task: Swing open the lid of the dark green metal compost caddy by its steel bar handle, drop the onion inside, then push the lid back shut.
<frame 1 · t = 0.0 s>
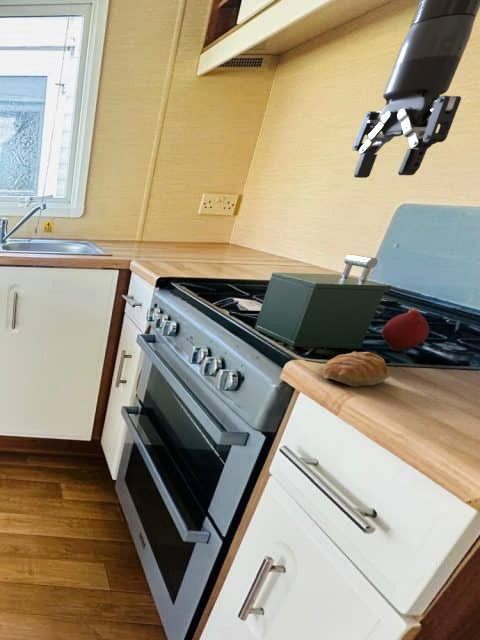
hand: (382, 176, 72), 29 cm above the countertop, tool pointing down, fingers open, 8 cm apart
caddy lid: (331, 269, 78), point 13 cm above the countertop, hinge at 0.0°
onion: (395, 351, 78), on the countertop
pastry: (351, 380, 64), on the countertop
caddy: (303, 338, 83), on the countertop
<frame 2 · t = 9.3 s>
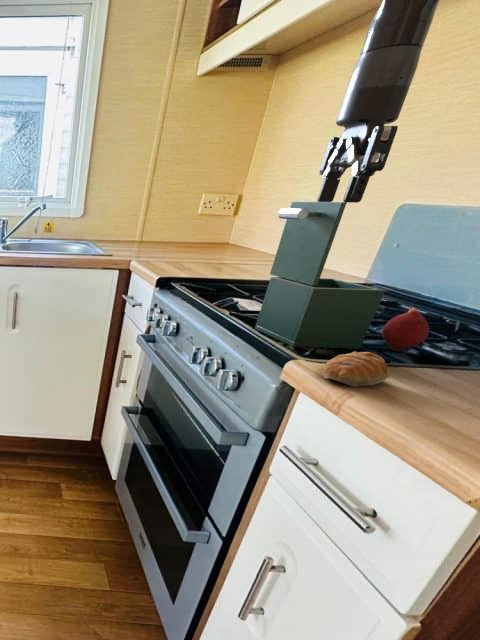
hand: (337, 202, 72), 25 cm above the countertop, tool pointing down, fingers open, 8 cm apart
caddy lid: (292, 241, 76), point 18 cm above the countertop, hinge at 90.5°, touching gripper
everything else where it was.
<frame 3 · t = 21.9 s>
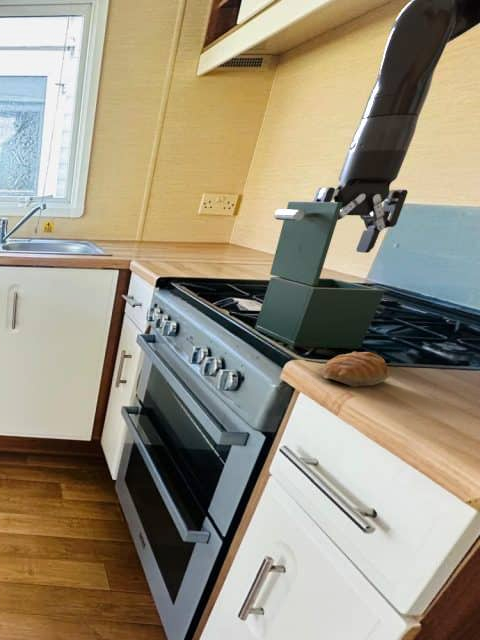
hand: (339, 251, 77), 17 cm above the countertop, tool pointing down, fingers open, 8 cm apart
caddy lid: (290, 242, 76), point 18 cm above the countertop, hinge at 93.4°, touching gripper, hand
onion: (308, 331, 83), point 1 cm above the countertop, touching caddy
everything else where it was.
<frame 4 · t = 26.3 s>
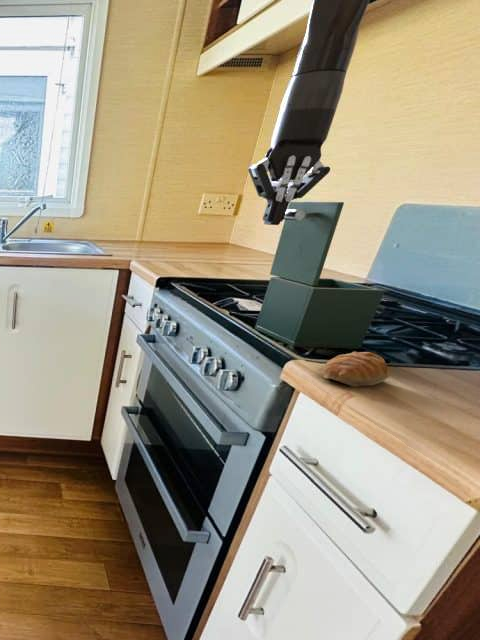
hand: (271, 224, 75), 21 cm above the countertop, tool pointing down, fingers closed
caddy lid: (291, 242, 76), point 18 cm above the countertop, hinge at 92.4°, touching gripper
everything else where it was.
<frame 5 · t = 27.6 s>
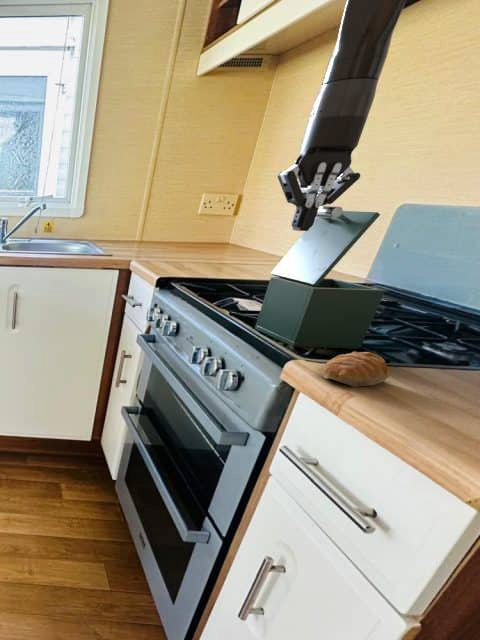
hand: (300, 230, 75), 20 cm above the countertop, tool pointing down, fingers closed
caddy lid: (311, 241, 76), point 18 cm above the countertop, hinge at 62.8°, touching gripper
everything else where it was.
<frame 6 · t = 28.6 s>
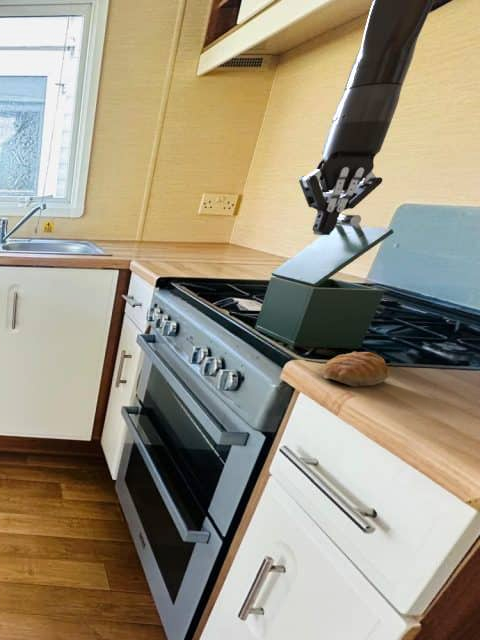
hand: (321, 234, 75), 19 cm above the countertop, tool pointing down, fingers closed
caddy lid: (321, 245, 76), point 17 cm above the countertop, hinge at 44.2°, touching gripper
everything else where it was.
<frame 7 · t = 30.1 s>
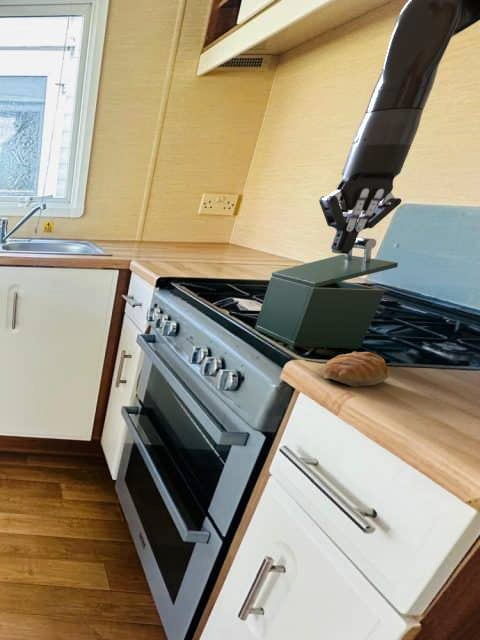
hand: (340, 253, 77), 16 cm above the countertop, tool pointing down, fingers closed
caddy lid: (330, 258, 77), point 15 cm above the countertop, hinge at 17.0°, touching gripper
everything else where it was.
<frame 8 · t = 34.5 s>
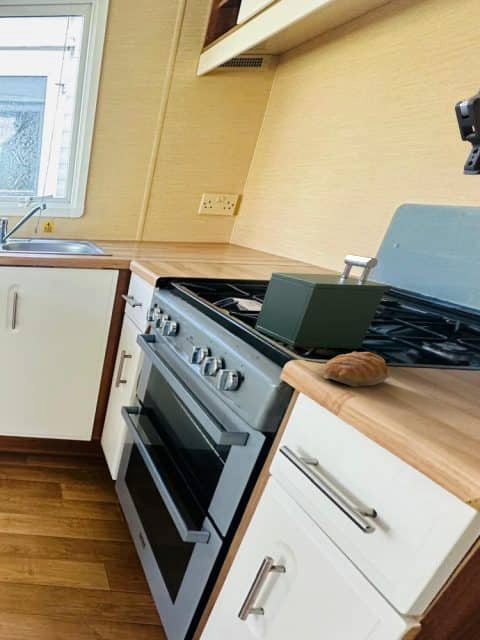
hand: (474, 174, 63), 29 cm above the countertop, tool pointing down, fingers closed
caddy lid: (331, 269, 78), point 13 cm above the countertop, hinge at -0.2°, touching caddy
everything else where it was.
at the end: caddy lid reached +94° during the clip, +0° at the end; onion inside the target area in the caddy (1.1 cm from its centre), point 1.1 cm above the caddy's base; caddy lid at +0° (first picture: +0°) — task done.
